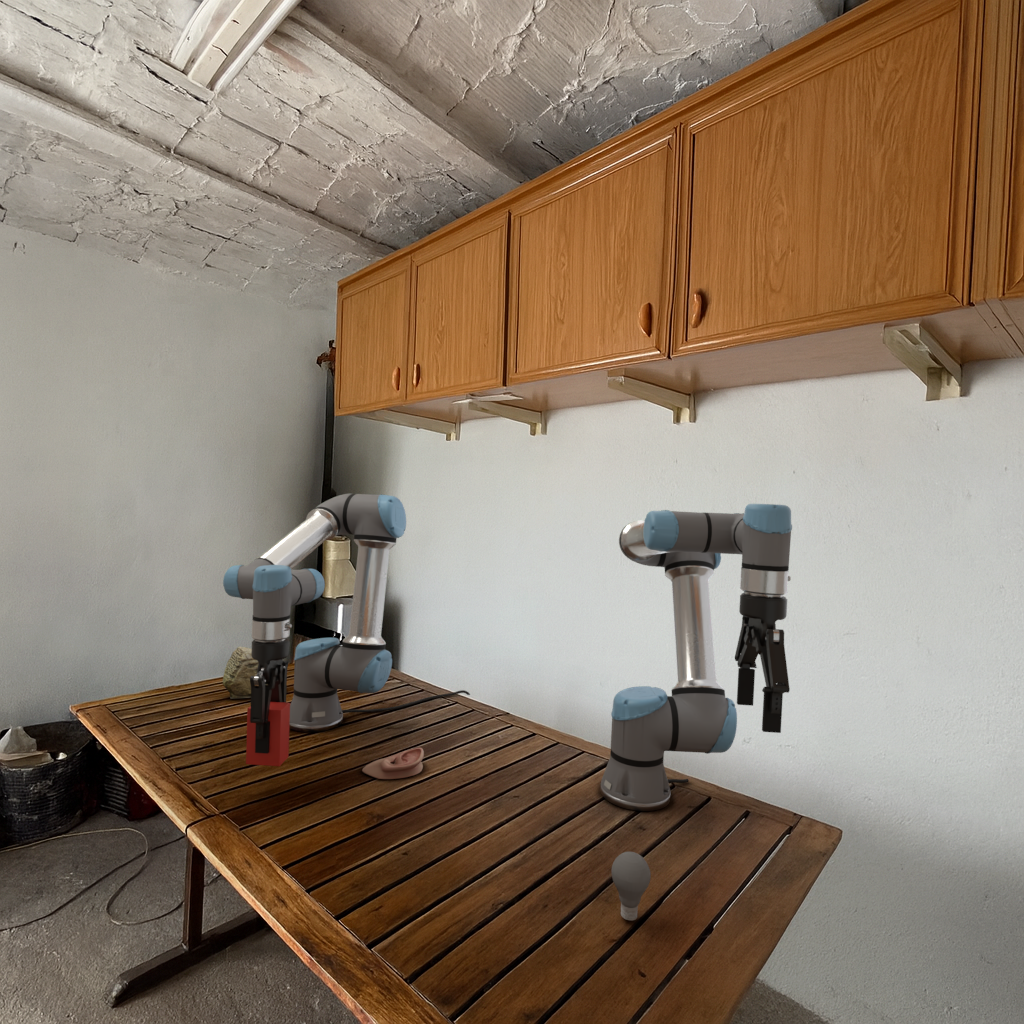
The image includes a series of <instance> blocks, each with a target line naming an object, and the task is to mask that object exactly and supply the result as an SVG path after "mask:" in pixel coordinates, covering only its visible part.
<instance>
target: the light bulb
mask: <svg viewBox="0 0 1024 1024" xmlns="http://www.w3.org/2000/svg"><path fill="white" fill-rule="evenodd" d="M651 875H652V874H651V869H650V867H649V864H648V862H647V861H646V859H645V858H644V857H643V856H642V855H640V854H639V853H637V852H634V851H624V852H622V853H620V854H618V856H616V857H615V859H614V860H613V863H612V865H611V877H612V878H611V879H612V882H613V885H614V886H615V888H616V890H617V892H618V897H619V902H620V916H621V917H622V918H623V919H624V920H627V921H635V920H637V919H638V909H639V907H638V906H639V905H640V903H641V899H642V897H643V895H644V893H645V892H646V890H647V889H648V888H649V885H650V883H651V877H652V876H651Z"/></svg>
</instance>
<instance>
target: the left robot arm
mask: <svg viewBox="0 0 1024 1024" xmlns="http://www.w3.org/2000/svg"><path fill="white" fill-rule="evenodd" d="M406 527H407V514H406V509H405V507H404V504H403V502H402V501H401V499H400V498H398V497H397V496H395V495H389V494H375V493H374V494H371V493H365V494H364V493H352V492H351V493H344V494H339V495H336V496H334V497H332V498H329V499H327V500H325V501H324V502H322V503H320V504H318V505H317V506H316V507H314V508H313V509H312V510H310V511H309V512H308V513H307V515H306V518H305V520H304V521H302V522H301V523H300V524H298V525H297V526H296V527H295V528H293V529H292V530H291V531H289V532H288V533H287V534H286V535H284V536H283V537H281V538H280V539H279V540H278V541H277V542H275V543H273V545H272V546H270V547H269V548H267V549H266V550H265V551H264V552H263V553H261V554H260V555H258V557H256V558H255V559H254V560H252V561H250V563H249V564H247V565H244V564H239V565H238V564H235V565H232V566H230V567H228V568H227V570H226V571H225V572H224V575H223V579H222V584H223V590H224V592H225V593H226V594H227V595H228V596H230V597H232V598H239V599H242V600H252V619H251V638H252V639H253V640H252V641H251V649H252V652H251V656H252V658H253V659H255V660H257V661H258V662H259V663H258V668H257V675H256V676H251V677H250V684H251V698H250V706H251V710H250V722H251V723H256V737H255V753H266V754H268V753H269V745H270V721H268V716H269V708H270V702H284V703H287V689H288V688H287V687H288V686H287V684H288V682H287V681H288V669H289V661H288V660H285V659H286V658H288V657H289V655H290V645H291V642H290V639H289V637H290V634H291V633H290V630H291V629H292V627H293V625H292V623H291V607H295V606H298V605H302V604H305V603H307V604H309V603H311V602H312V601H314V600H317V599H319V598H320V597H321V596H322V595H323V594H324V591H325V586H326V584H325V579H324V576H323V575H322V573H321V572H319V571H318V570H317V569H315V568H306V567H305V568H302V569H294V568H295V567H296V566H297V565H299V564H300V563H301V562H302V561H303V560H304V559H305V558H307V557H308V556H309V555H310V554H311V553H312V552H314V551H315V550H316V549H318V547H320V546H321V545H322V544H323V543H324V542H325V541H331V540H333V539H335V538H336V536H341V535H353V536H354V537H353V542H354V543H355V544H356V546H357V547H358V548H357V559H356V568H355V576H354V578H355V579H354V586H353V594H352V595H353V596H352V603H351V604H352V605H351V614H350V622H349V623H350V624H349V632H348V635H347V636H346V637H345V638H343V639H342V643H341V641H340V639H339V638H337V637H320V638H319V637H318V638H313V639H307V640H304V641H302V642H299V643H298V644H297V645H296V647H295V652H294V653H295V654H294V659H293V660H294V672H293V695H292V696H293V697H292V699H291V702H290V723H289V730H291V731H294V732H295V731H296V732H301V733H316V732H325V731H329V730H332V729H335V728H337V727H339V726H340V725H342V723H343V722H344V714H345V713H347V714H348V713H377V712H378V713H379V712H386V711H392V710H393V711H394V710H398V709H402V708H405V707H409V706H413V705H415V704H419V703H422V702H425V701H429V700H433V699H438V698H444V697H453V696H455V695H458V694H466V695H467V696H470V695H471V693H470V692H469V691H467V690H463V689H462V690H461V689H460V690H457V691H453V692H450V693H442V694H436V695H431V696H428V697H427V696H426V697H423V698H420V699H417V700H414V701H410V702H407V703H403V704H400V705H396V706H389V707H382V708H372V709H371V708H369V709H342V706H341V702H340V699H339V695H338V690H342V691H350V692H358V693H360V694H363V693H364V694H376V693H378V692H379V691H381V690H382V689H383V688H384V686H385V685H386V683H387V682H388V680H389V677H390V675H391V671H392V666H393V658H392V657H393V656H392V653H391V652H390V651H389V650H387V649H386V644H387V643H386V641H385V640H384V638H383V637H382V630H383V629H382V628H383V620H384V611H385V602H386V601H385V599H386V590H387V582H388V571H389V564H390V563H389V562H390V552H391V549H392V548H394V547H395V546H396V545H397V539H399V538H401V537H403V536H404V534H405V531H406ZM340 644H342V645H340ZM265 684H267V685H265Z"/></svg>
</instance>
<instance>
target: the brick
mask: <svg viewBox="0 0 1024 1024" xmlns="http://www.w3.org/2000/svg"><path fill="white" fill-rule="evenodd" d="M290 704H291V702H286V703H284V702H270V708H269V716H268V721H270V745H269V753H268V754H266V753H255V737H256V723H251V722H250V710H251V705H250V706H249V707H247V710H246V711H247V712H246V713H247V715H246V746H245V747H246V748H245V749H246V750H245V751H246V752H245V765H250V766H251V765H253V766H268V767H281V766H282V764H283V763H284V762H286V761H287V759H288V758H289V757H290V756H289V755H290V753H289V751H290V729H289V723H290Z"/></svg>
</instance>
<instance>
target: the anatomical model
mask: <svg viewBox="0 0 1024 1024" xmlns="http://www.w3.org/2000/svg"><path fill="white" fill-rule="evenodd" d="M424 755H425V751H424V749H423V748H422V747H414V748H410V749H407V750H404V751H401V752H398V753H396V754H393V755H391V756H388V757H384V758H380V759H375V760H373V761H372V762H369V763H368V764H366V765H365V766H364V767H363V768H362V770H361V771H362V773H363V774H366V775H368V776H369V777H372V778H375V779H379V780H394V779H395V780H396V779H404V778H408V777H412V776H415V775H418V774H420V773H421V772H422V771H423V768H424V765H423V762H422V761H423V759H424Z"/></svg>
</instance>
